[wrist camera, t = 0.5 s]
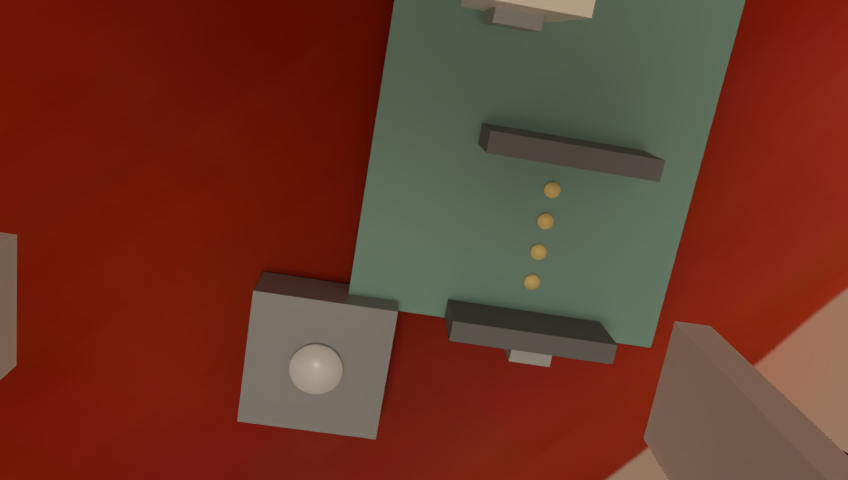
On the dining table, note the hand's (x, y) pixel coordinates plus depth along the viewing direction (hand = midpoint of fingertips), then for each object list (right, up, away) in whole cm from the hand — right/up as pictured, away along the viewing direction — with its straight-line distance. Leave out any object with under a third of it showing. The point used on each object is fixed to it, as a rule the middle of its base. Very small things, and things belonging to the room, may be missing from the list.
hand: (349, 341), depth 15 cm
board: (+7, +8, +22) cm, 25 cm away
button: (-4, -3, +25) cm, 25 cm away
